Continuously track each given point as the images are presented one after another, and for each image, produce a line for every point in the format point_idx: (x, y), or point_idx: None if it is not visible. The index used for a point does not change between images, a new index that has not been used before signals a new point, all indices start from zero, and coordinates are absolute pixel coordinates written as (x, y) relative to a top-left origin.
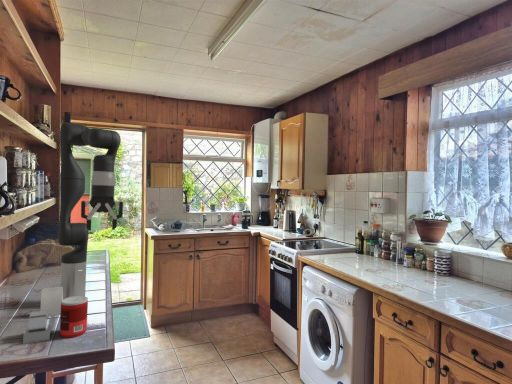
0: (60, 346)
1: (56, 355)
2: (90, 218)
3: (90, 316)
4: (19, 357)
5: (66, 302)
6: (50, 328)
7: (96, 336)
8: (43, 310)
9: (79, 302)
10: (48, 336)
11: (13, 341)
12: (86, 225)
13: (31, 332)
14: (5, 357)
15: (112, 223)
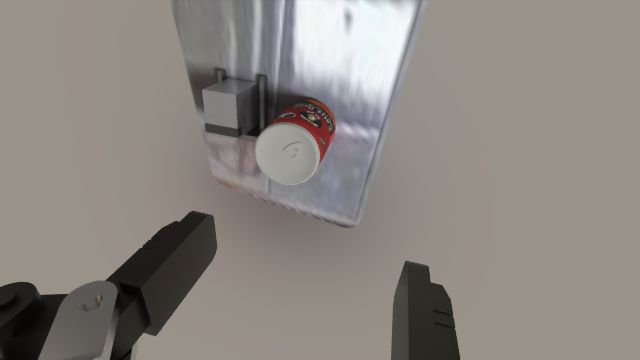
0: None
1: (279, 202)
2: (134, 352)
3: (365, 20)
4: (230, 177)
5: (267, 158)
6: (263, 93)
7: (348, 167)
8: None
9: (295, 184)
10: None
11: None
12: (151, 239)
13: None
14: (211, 166)
15: (397, 340)
